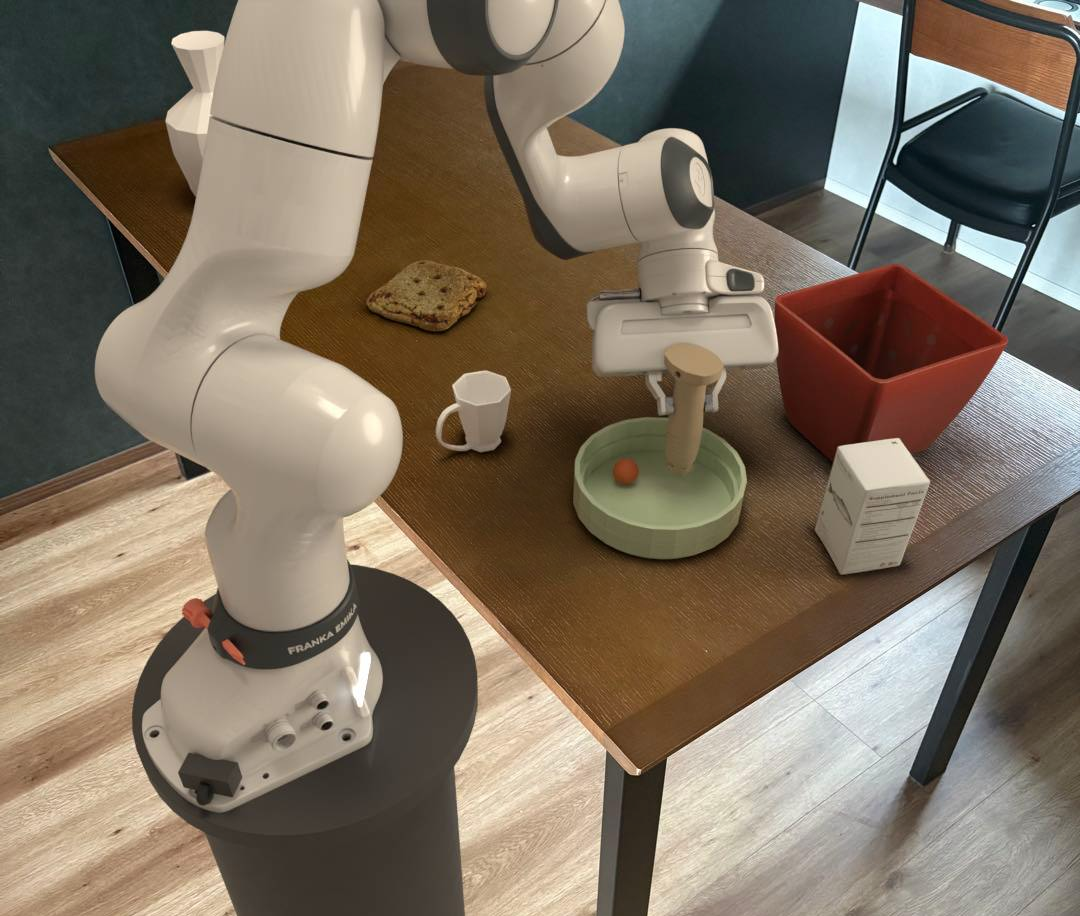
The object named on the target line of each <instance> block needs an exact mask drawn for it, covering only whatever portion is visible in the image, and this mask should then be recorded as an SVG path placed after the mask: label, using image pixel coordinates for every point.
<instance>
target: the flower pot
mask: <svg viewBox="0 0 1080 916" xmlns="http://www.w3.org/2000/svg"><path fill="white" fill-rule="evenodd" d="M774 321H775V327H776V332H777V340H778V356H777V358H776V359H775V360H776V361H775V362H776V367H777V375H778V381H779V382H778V383H779V388H780V393H781V398H782V401H783V402H782V403H783V408H784V411H785V415H786V419H787V421H788V423H789V424H791V426H793V427H794V428H795V429H796V430H797V431H798V432H799V433H800V434H801V435H802V436H803V437H805V438H806V439H807V440H808V441H809V442H810V443H811V444H812V445H813V446H814V447H815V448H817V450H819V451H820V452H821V453H822V454H823V455H824V456H825V457H826V458H827V459H828V460H829V461H831V463H832V464H833V463H834V459H835V455H836V452H837V447H838V446H843V445H850V444H857V443H864V442H871V441H878V440H885V439H894V438H899V439H900V440H901V441H902V443H903V444H904V446H905V447H906V448H907V450H908V451H909V453H910V454H911V455H912V456H913V455H915V454H918V453H920V452H924V451H925V450H927V449H928V448H929V447H930V446H931V445H932V444H934V442H935V441H936V440H937V439H938V438H939V437H940V436H941V435H942V434H943V433H944V431H946V430H947V428H948V427H949V426H950V425H951V424H952V423H953V422H954V420H955V419H956V418H957V417H958V415H960V413H961V412H962V411H963V410H964V408H965V407H966V406H967V404H968V403H969V402H970V401H971V399H972V398H973V397H974V396H975V394H976V393H977V392H978V390H979V389H980V387H981V386H982V384H983V383H984V382H985V380H986V379H987V377H988V376H989V374H991V371H992V370H993V368H994V367H995V365H997V362H998V361H999V359H1000V358H1001V356H1002V354H1003V352H1004V350H1005V349H1006V347H1007V345H1008V343H1009V339H1008V337H1007V336H1006V335H1004V334H1003V333H1002V332H1000V331H999V330H998V329H996V328H995V327H994V326H992V325H991V324H989V323H988V322H986V321H985V320H983V318H980V317H979V316H978V315H977V314H975V313H973V312H972V311H971V310H969V309H967V307H965V306H963V305H962V304H960V303H959V302H957V301H956V300H954V299H953V298H952V297H950V296H948V295H947V294H945V293H944V292H943V291H941V290H940V289H938V288H936V287H935V286H934V285H932V284H931V283H930V282H928V281H926V280H925V279H924V278H922V277H921V276H919V275H918V274H916V273H915V272H913V271H912V270H911V269H909V268H908V267H906V266H904V265H902V264H900V263H899V264H898V263H892V264H887V265H883V266H880V267H877V268H873V269H869V270H865V271H862V272H858V273H855V274H852V275H848V276H844V277H840V278H837V279H834V280H830V281H826V282H823V283H819V284H815V285H812V286H808V287H804V288H801V289H800V288H799V289H797V290H793V291H789V292H787V293H782V294H779V295H777V296H776V297H775V299H774Z"/></svg>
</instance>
